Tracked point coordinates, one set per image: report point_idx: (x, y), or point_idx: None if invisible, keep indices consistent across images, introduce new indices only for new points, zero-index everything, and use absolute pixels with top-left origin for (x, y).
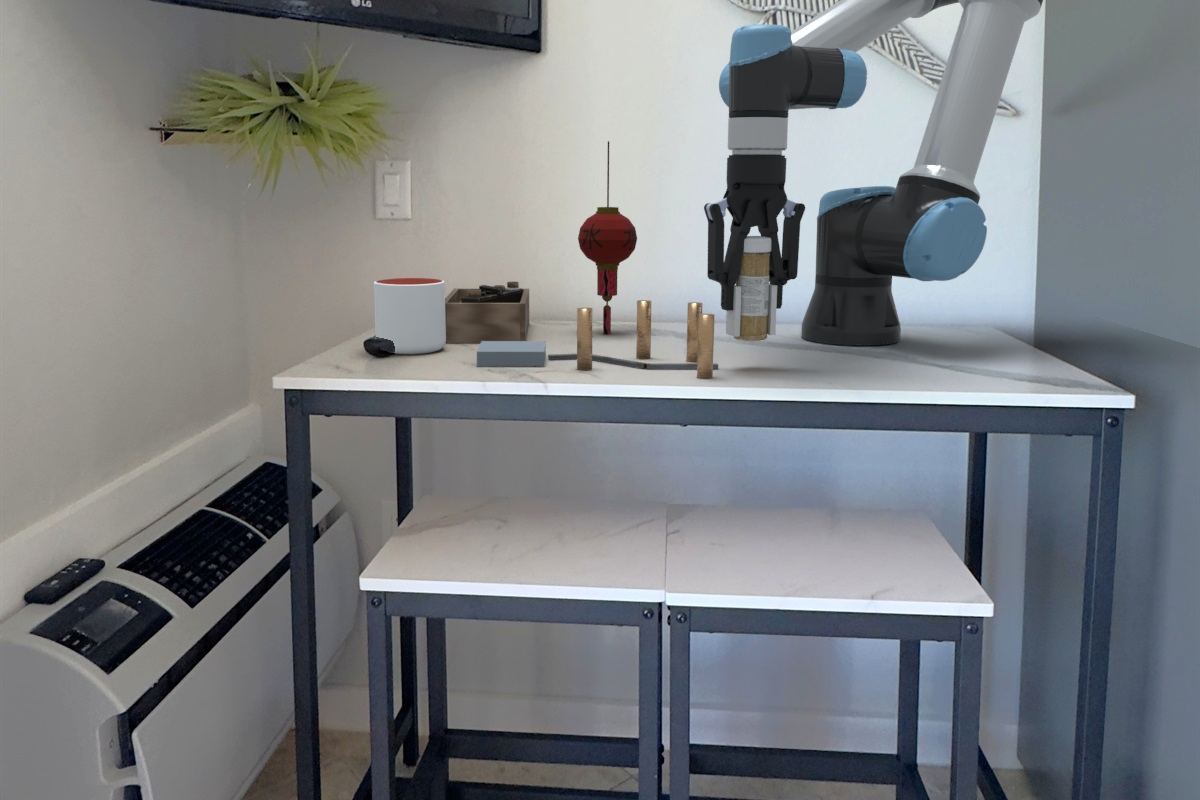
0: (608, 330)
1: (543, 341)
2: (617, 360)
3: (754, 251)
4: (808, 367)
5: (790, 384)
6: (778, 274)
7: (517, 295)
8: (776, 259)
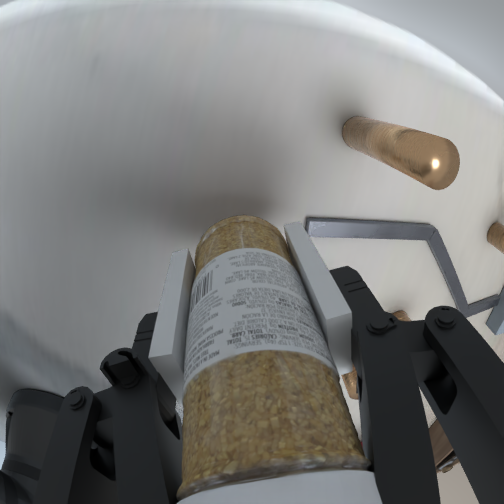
0: (362, 445)
1: (497, 332)
2: (454, 269)
3: (314, 478)
4: (107, 239)
5: (184, 40)
6: (137, 399)
7: (446, 457)
8: (141, 463)
